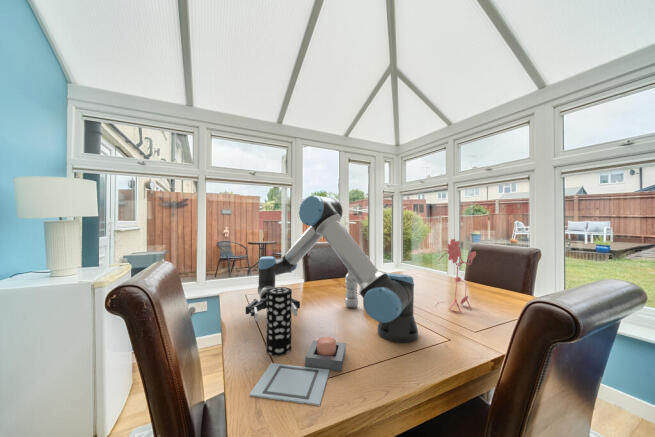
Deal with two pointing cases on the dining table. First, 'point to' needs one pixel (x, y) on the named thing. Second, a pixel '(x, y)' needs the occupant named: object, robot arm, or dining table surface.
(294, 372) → the drawing pad
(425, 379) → the dining table surface
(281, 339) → the white-spotted black cylinder
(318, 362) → the button housing
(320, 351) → the button
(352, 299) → the plastic bottle
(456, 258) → the figurine
